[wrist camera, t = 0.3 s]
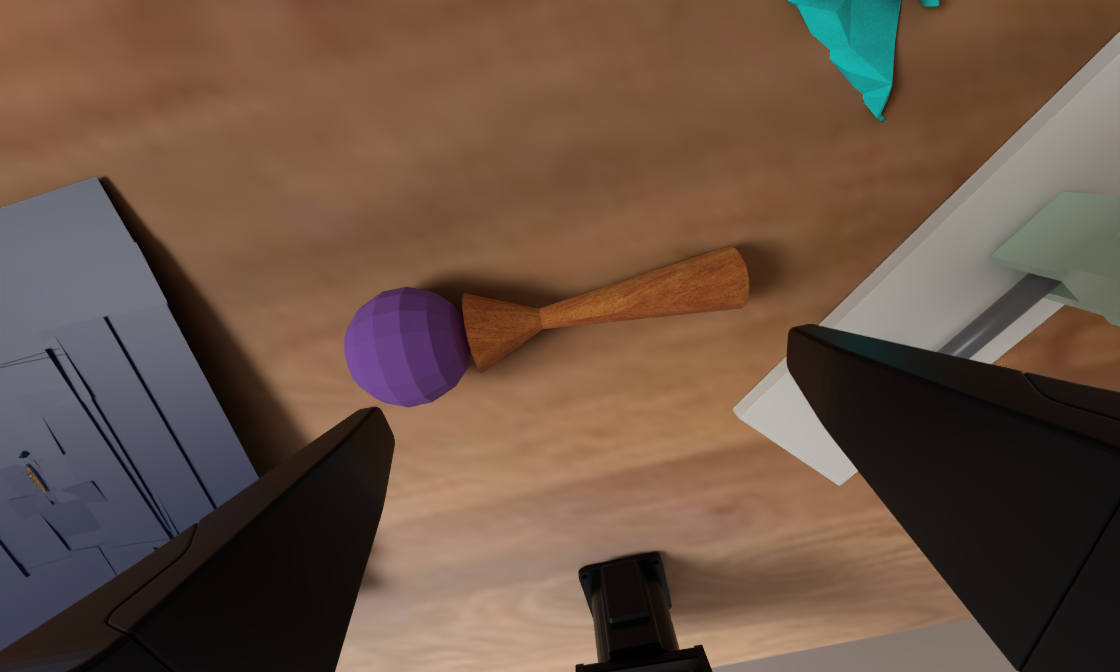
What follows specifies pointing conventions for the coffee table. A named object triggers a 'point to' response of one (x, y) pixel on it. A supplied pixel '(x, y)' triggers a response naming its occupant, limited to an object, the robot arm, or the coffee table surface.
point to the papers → (94, 409)
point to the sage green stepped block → (1073, 251)
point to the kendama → (514, 324)
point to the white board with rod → (966, 258)
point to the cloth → (859, 41)
